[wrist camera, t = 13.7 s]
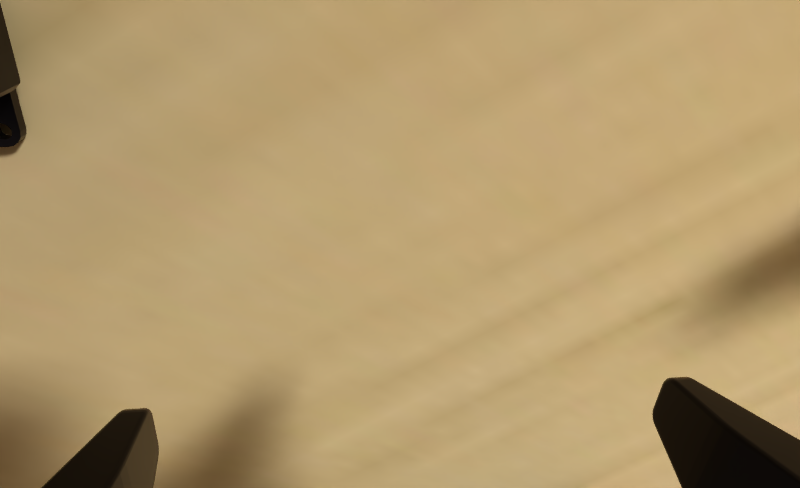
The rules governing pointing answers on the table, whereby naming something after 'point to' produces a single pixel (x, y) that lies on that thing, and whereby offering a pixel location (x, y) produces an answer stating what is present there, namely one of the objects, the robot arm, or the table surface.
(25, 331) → the table surface
